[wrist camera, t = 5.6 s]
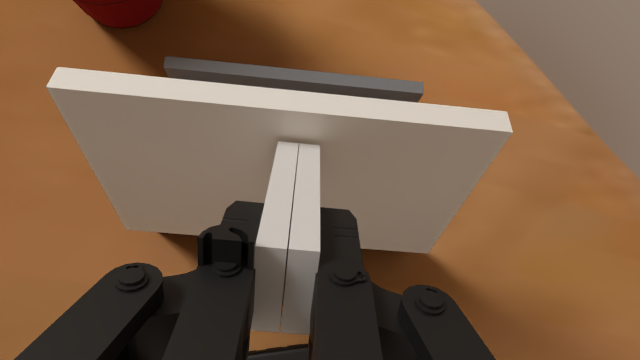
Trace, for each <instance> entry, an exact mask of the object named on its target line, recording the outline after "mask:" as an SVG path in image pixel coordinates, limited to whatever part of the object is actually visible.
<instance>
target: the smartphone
mask: <svg viewBox="0 0 640 360" xmlns="http://www.w3.org/2000/svg"><path fill="white" fill-rule="evenodd" d="M307 351H308V344H303V345H302V344H298V345H291V346H286V347H277V348H269V349H266V350H259V351H256V350H255V351H248V356H247V360H306V358H307Z"/></svg>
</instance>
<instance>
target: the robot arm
mask: <svg viewBox="0 0 640 360" xmlns="http://www.w3.org/2000/svg"><path fill="white" fill-rule="evenodd" d="M298 145H299V154H298ZM297 156H298V164H297ZM296 167H297V173H296ZM295 178H296V183H295ZM294 188H295V192H294ZM293 199H294V202H293ZM292 210H293V211H292ZM291 219H292V221H291ZM290 229H291V230H290ZM289 238H290V240H289ZM197 241H198V267H197V269H196V270H194V271H191V272H188V273H185V274H180V275H175V276H167V277H162V273H161V271H160V270H159V269H158V268H157V267H155V266H153V265H150V264H146V263H131V264H125V265H122V266H120V267H117V268H115V269H113V270H112V271H110V272H109V273H107V274H106V275H105V276H104V277H103V278H101V279H100V280H99V281H98V282H97V283H96V284H95V285H94V286H93V287H92V288H91V289H90V290H88V291H87V292H86V293H85V294H84V295H83V296H82V297H81V298H80V299H79V300H78V301H77V302H76V303H74V304H73V305H72V306H71V307H70V308H69V309H68V310H67V311H66V312H65V313H64V314H63V315H62V316H60V317H59V318H58V319H57V320H56V321H55V322H54V323H53V324H52V325H51V326H50V327H49V328H47V329H46V330H45V331H44V332H43V333H42V334H41V335H40V336H39V337H38V338H37V339H36V340H35V341H33V342H32V343H31V344H30V345H29V346H28V347H27V348H26V349H25V350H24V351H23V352H22V353H21V354H19V355H18V356H17V357H16V358H15V359H14V360H247V356H248V351H249V339H250V329H251V330H253V331H266V332H279V333H280V324H281V314H282V305H283V315H282V326H281V333H293V334H306V335H309V333H310V336H309V343H308V351H307V358H306V360H496V359H495V358H494V356H493V355H492V354H491V352H490V351H489V349H488V348H487V347H486V345H485V344H484V342H483V341H482V339H481V338H480V337H479V335H478V334H477V332H476V331H475V330H474V328H473V327H472V325H471V324H470V322H469V321H468V320H467V318H466V317H465V315H464V314H463V313H462V311H461V310H460V308H459V307H458V305H457V304H456V303H455V301H454V300H453V299H452V298H451V297H450V296H449V295H448V294H446V293H445V292H443V291H441V290H439V289H437V288H434V287H431V286H427V285H415V286H411V287H409V288H407V289H406V290H405V291H404V292H403V295H399V294H396V293H393V292H390V291H387V290H385V289H382V288H380V287H379V286H377V285H375V284H374V283H373V282H372V281H371V279H370V277H369V274H368V273H367V272H366V271H365V270H364V268H363V261H362V254H361V247H360V240H359V233H358V226H357V219H356V218H355V217H354V215H353V214H352V213H351V212H350V210H347V209H336V208H325V207H320V145H311V144H301V143H300V144H299V143H291V142H281V141H278V145H277V149H276V154H275V158H274V163H273V167H272V172H271V176H270V181H269V185H268V190H267V194H266V199H265V203H258V202H247V201H235V202H234V203H232V204H231V205H230V206H229V207H227V208H226V211H225V213H224V216H223V220H222V221H221V224H220V225H216V226H212V227H209V228H207V229H206V230H204V231H202V232H201V234H200V235H199V236H198V237H197ZM288 248H289V249H288ZM287 257H288V260H287ZM286 267H287V271H286ZM285 276H286V282H285ZM284 286H285V293H284ZM283 295H284V304H283Z"/></svg>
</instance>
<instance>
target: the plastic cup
mask: <svg viewBox="0 0 640 360" xmlns="http://www.w3.org/2000/svg"><path fill="white" fill-rule="evenodd" d="M73 1H74V2H75V3H76V4H77V5H78V6H79V7H80V8H81V9H82V10H83V11H84V12H85V13H86V14H87V15H89V16H91V17H92V18H93V19H95V20H97V21H98V22H100V23H102V24H103V25H105V26H111V27H116V28H126V27H132V26H137V25H139V24H141V23H143V22H145V21H147V20H149V19H150V18H151V17H152V16H153V15H154V14H155V13H156V12H157V10H158V9H159V8H160V5H161V2H162V0H73Z"/></svg>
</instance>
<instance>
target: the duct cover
mask: <svg viewBox="0 0 640 360" xmlns="http://www.w3.org/2000/svg"><path fill="white" fill-rule="evenodd" d="M46 88H47V90H48V92H49V93H50V95H51V97H52V99H53V101H54V102H55V104H56V106H57V108H58V109H59V111H60V113H61V115H62V117H63V118H64V120H65V122H66V124H67V125H68V127H69V129H70V131H71V133H72V134H73V136H74V138H75V140H76V141H77V143H78V145H79V147H80V149H81V150H82V152H83V154H84V156H85V157H86V159H87V161H88V163H89V165H90V166H91V168H92V170H93V172H94V173H95V175H96V177H97V179H98V181H99V182H100V184H101V186H102V188H103V189H104V191H105V193H106V195H107V197H108V198H109V200H110V202H111V204H112V205H113V207H114V209H115V211H116V213H117V214H118V216H119V218H120V220H121V221H122V223H123V225H124V227H125V229H126V230H136V231H148V232H161V233H174V234H186V235H200V234H201V232H202V231H204V230H206V229H207V228H209V227H212V226H216V225H220V224H221V221H222V220H223V216H224V213H225V211H226V208H227V207H229V206H230V205H231V204H232V203H234V202H235V201H247V202H258V203H265V199H266V194H267V190H268V185H269V181H270V176H271V172H272V167H273V163H274V158H275V154H276V149H277V145H278V141H281V142H291V143H299V144H300V143H301V144H311V145H320V207H325V208H336V209H347V210H350V212H351V213H352V214H353V215H354V217H355V218H356V219H357V226H358V233H359V240H360V247H361V248H363V249H375V250H388V251H400V252H413V253H426V254H428V253H429V251H430V250H431V249H432V247H433V246H434V244H435V243H436V241H437V240H438V239H439V237H440V236H441V234H442V233H443V231H444V230H445V229H446V227H447V226H448V224H449V223H450V221H451V220H452V219H453V217H454V216H455V214H456V213H457V211H458V210H459V209H460V207H461V206H462V204H463V203H464V201H465V200H466V198H467V197H468V196H469V194H470V193H471V191H472V190H473V188H474V187H475V186H476V184H477V183H478V181H479V180H480V178H481V177H482V176H483V174H484V173H485V171H486V170H487V168H488V167H489V166H490V164H491V163H492V161H493V160H494V158H495V157H496V156H497V154H498V153H499V151H500V150H501V148H502V147H503V145H504V144H505V143H506V141H507V140H508V138H509V137H510V135H511V134H512V133H513V131H512V128H511V124H510V121H509V117H508V114H507V112H506V111H496V110H486V109H476V108H466V107H456V106H446V105H436V104H426V103H416V102H406V101H396V100H386V99H375V98H365V97H355V96H345V95H335V94H325V93H315V92H305V91H295V90H285V89H275V88H265V87H255V86H245V85H235V84H225V83H215V82H204V81H194V80H184V79H174V78H164V77H154V76H144V75H134V74H124V73H114V72H104V71H94V70H84V69H74V68H64V67H57V69H56V70H55V72H54V74H53V76H52V77H51V79H50V81H49V83H48V84H47V86H46ZM298 154H299V145H298ZM297 164H298V156H297ZM296 173H297V167H296ZM295 183H296V178H295ZM294 192H295V188H294ZM293 202H294V199H293ZM292 211H293V210H292ZM291 221H292V219H291ZM290 230H291V229H290ZM289 240H290V238H289Z"/></svg>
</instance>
